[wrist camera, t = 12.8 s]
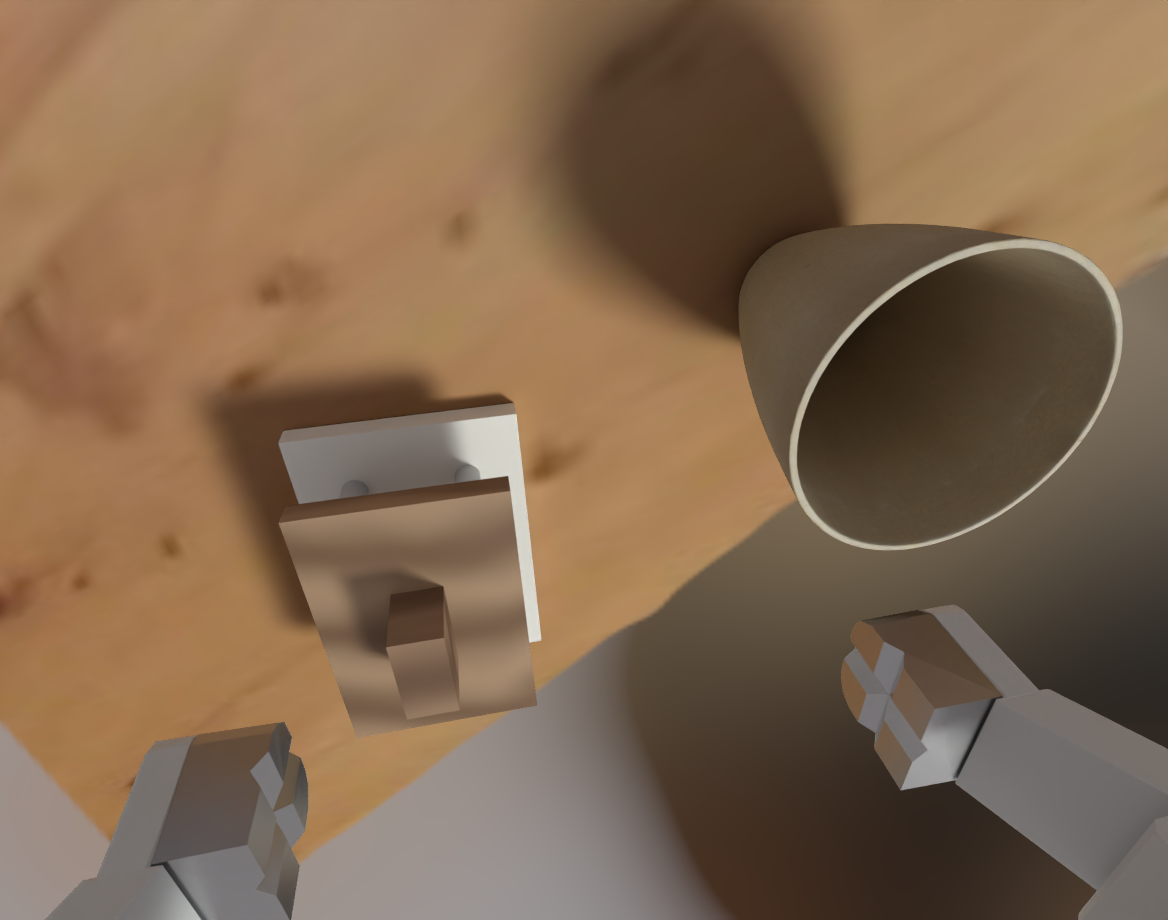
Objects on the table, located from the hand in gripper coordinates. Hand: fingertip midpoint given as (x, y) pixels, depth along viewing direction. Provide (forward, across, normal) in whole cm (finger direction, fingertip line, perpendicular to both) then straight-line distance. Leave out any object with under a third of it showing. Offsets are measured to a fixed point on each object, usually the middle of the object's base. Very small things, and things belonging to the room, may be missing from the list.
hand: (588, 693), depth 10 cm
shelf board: (+25, +6, +22) cm, 34 cm away
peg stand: (+32, +5, +22) cm, 39 cm away
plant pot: (+32, -19, +6) cm, 38 cm away
